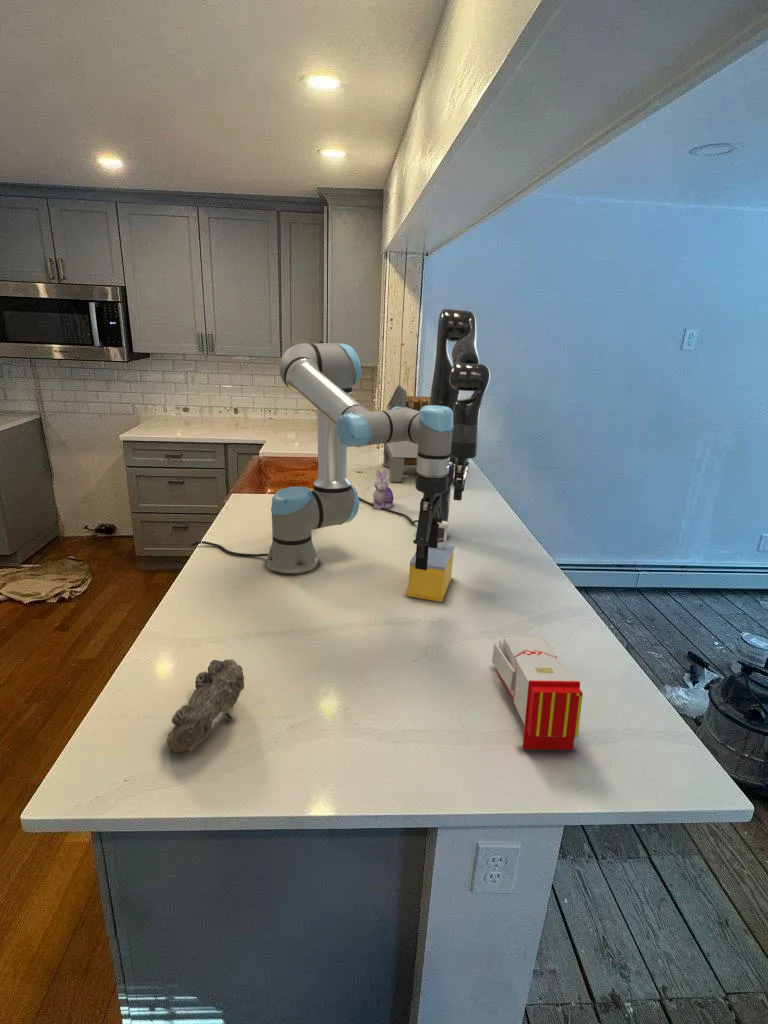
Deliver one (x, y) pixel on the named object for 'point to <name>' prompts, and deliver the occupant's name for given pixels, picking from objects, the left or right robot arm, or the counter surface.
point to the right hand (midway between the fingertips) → (458, 495)
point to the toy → (540, 692)
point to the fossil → (206, 705)
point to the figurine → (382, 491)
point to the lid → (438, 552)
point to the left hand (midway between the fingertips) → (426, 557)
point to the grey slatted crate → (404, 450)
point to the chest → (429, 582)
